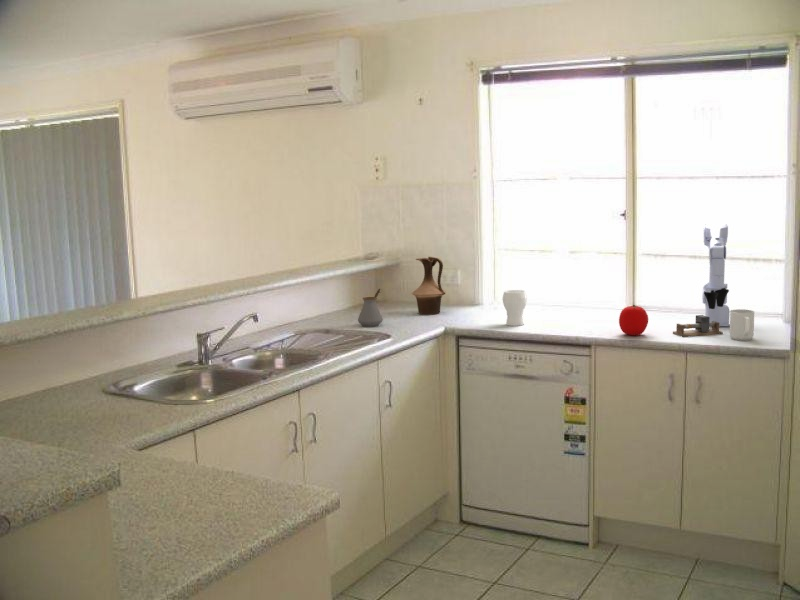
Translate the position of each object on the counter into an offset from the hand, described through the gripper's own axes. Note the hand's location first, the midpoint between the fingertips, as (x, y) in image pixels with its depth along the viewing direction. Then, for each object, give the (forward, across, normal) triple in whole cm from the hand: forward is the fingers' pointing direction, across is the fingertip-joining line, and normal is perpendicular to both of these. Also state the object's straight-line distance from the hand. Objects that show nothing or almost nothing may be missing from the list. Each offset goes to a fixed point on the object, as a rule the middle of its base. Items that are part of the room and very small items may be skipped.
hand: (715, 307), depth 351 cm
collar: (+9, +5, -3) cm, 11 cm away
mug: (+11, +6, +15) cm, 19 cm away
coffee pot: (+11, +78, -127) cm, 149 cm away
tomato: (+11, +25, -23) cm, 35 cm away
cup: (+11, +38, -76) cm, 85 cm away
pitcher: (+11, +42, -127) cm, 134 cm away
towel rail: (+10, +7, -4) cm, 13 cm away
